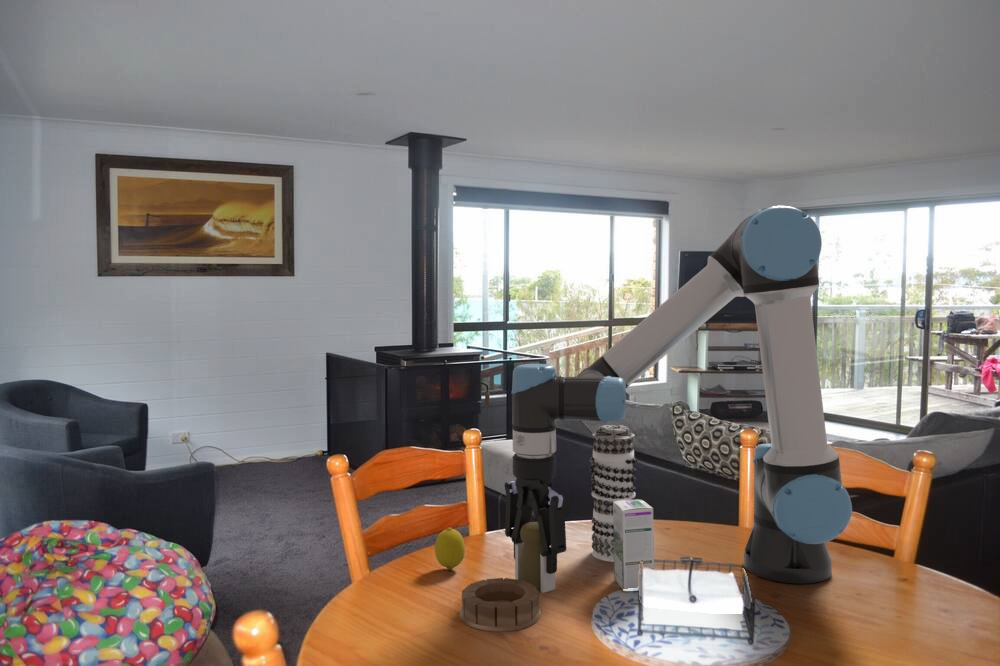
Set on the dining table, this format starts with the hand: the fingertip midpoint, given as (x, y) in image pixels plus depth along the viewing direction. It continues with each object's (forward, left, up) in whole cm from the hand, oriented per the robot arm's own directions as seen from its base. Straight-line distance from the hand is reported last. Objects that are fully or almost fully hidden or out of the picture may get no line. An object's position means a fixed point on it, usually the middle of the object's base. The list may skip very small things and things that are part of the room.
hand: (534, 584), depth 136 cm
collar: (-5, +12, 0) cm, 13 cm away
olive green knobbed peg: (0, 0, 0) cm, 1 cm away
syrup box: (-11, -13, 0) cm, 17 cm away
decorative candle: (+2, -22, 0) cm, 22 cm away
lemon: (+16, +7, 0) cm, 17 cm away
